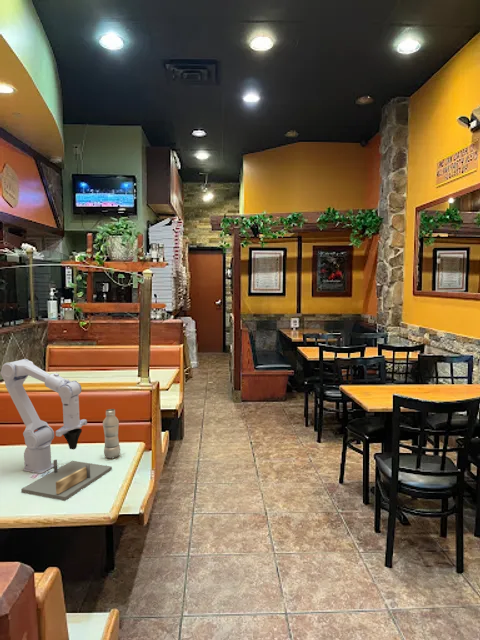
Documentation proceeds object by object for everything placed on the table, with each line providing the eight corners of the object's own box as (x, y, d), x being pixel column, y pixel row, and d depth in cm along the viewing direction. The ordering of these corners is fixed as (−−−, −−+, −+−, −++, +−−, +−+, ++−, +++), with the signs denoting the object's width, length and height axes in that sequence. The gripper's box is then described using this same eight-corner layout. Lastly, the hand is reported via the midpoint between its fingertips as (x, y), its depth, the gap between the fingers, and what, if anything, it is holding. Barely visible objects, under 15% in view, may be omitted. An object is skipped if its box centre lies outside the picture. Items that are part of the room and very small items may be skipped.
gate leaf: (58, 494, 141) (57, 482, 140) (56, 493, 141) (55, 482, 141) (86, 478, 152) (86, 467, 152) (84, 477, 153) (84, 467, 152)
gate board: (21, 492, 146) (20, 476, 145) (72, 463, 169) (71, 449, 169) (65, 500, 139) (64, 483, 139) (111, 469, 163) (111, 455, 162)
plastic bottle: (124, 455, 176) (122, 409, 175) (111, 461, 171) (109, 413, 169) (113, 452, 180) (111, 407, 178) (100, 458, 174) (98, 411, 173)
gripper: (65, 420, 151) (67, 457, 152) (92, 409, 165) (94, 443, 166) (50, 418, 153) (52, 454, 154) (78, 407, 167) (79, 441, 168)
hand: (72, 448), depth 160 cm, fingers closed
